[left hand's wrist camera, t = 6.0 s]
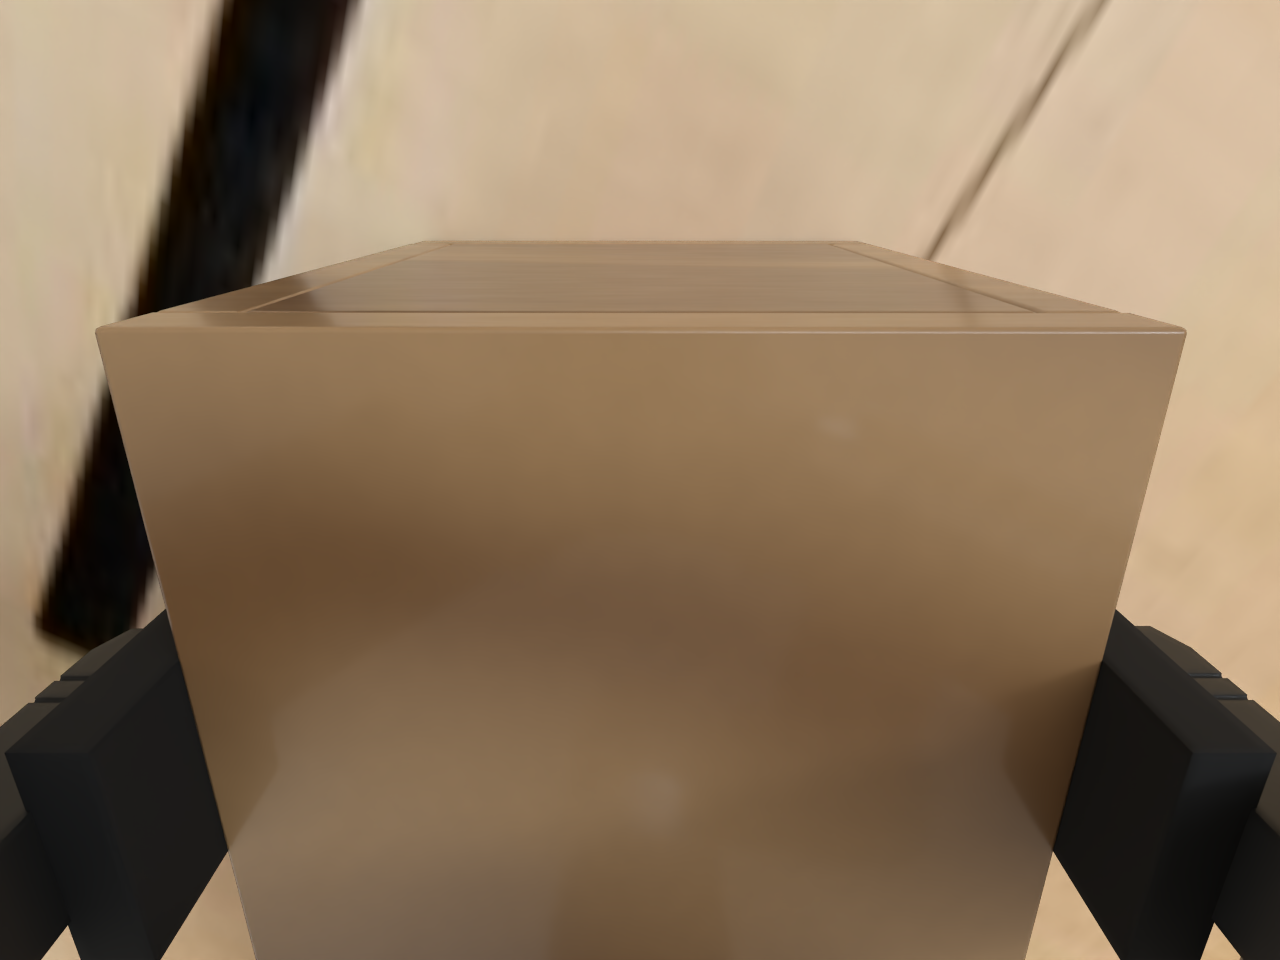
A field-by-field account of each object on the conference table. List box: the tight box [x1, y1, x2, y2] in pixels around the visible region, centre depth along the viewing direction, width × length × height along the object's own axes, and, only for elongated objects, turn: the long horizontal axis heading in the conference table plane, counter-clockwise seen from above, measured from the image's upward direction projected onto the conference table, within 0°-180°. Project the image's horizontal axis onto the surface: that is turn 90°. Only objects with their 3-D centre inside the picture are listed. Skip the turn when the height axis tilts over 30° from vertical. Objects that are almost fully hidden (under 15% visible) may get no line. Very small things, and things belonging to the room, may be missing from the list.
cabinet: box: [95, 241, 1186, 960], centre depth 16 cm, size 20×10×11 cm, turn 0°
